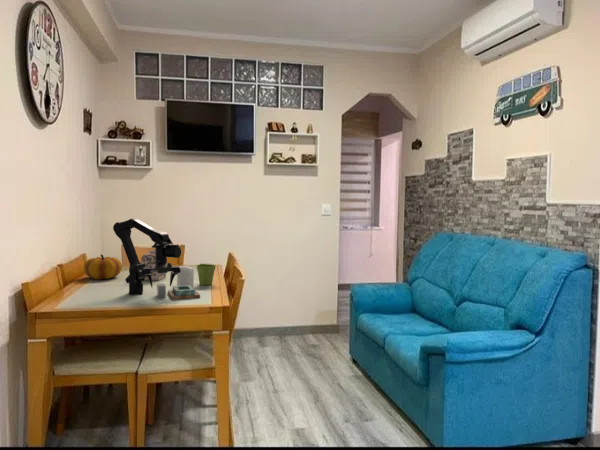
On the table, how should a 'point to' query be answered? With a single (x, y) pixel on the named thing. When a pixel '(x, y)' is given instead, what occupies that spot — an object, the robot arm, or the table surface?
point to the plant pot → (205, 273)
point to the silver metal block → (161, 290)
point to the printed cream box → (185, 276)
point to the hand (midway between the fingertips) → (161, 286)
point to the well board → (183, 292)
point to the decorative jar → (151, 265)
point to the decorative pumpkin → (102, 267)
